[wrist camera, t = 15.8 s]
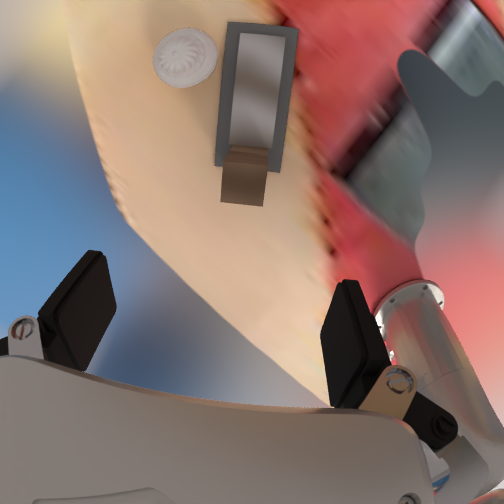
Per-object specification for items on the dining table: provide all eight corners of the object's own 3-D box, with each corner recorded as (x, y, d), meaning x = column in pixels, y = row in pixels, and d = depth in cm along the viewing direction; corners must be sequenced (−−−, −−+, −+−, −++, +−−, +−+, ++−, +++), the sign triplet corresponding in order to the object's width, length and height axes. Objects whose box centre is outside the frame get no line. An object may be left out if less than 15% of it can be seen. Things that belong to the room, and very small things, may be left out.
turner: (267, 178, 31) (268, 207, 24) (226, 174, 31) (215, 201, 24) (285, 38, 23) (292, 20, 16) (240, 34, 23) (232, 15, 16)
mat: (279, 171, 31) (279, 172, 30) (215, 164, 31) (214, 165, 30) (298, 29, 22) (298, 28, 22) (228, 22, 22) (228, 22, 22)
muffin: (172, 32, 23) (147, 19, 17) (229, 38, 23) (218, 23, 17) (160, 84, 26) (133, 85, 20) (215, 92, 27) (201, 92, 21)
